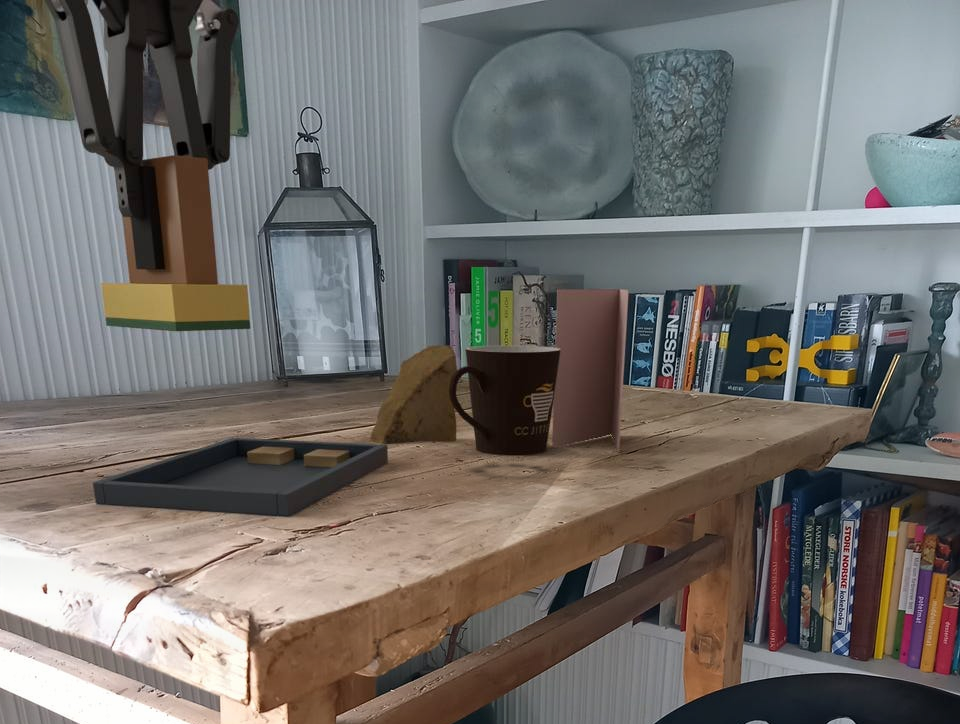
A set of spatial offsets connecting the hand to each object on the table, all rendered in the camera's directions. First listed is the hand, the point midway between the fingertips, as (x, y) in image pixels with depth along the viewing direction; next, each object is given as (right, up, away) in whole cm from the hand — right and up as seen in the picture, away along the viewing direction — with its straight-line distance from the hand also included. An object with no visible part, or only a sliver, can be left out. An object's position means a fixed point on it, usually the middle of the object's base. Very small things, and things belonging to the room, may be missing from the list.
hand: (171, 268), depth 67 cm
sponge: (0, -4, +1) cm, 4 cm away
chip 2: (+9, -12, +12) cm, 19 cm away
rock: (+16, -7, +28) cm, 32 cm away
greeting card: (+35, -7, +29) cm, 46 cm away
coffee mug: (+24, -10, +20) cm, 33 cm away
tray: (+5, -15, +6) cm, 17 cm away
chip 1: (+4, -11, +13) cm, 18 cm away
